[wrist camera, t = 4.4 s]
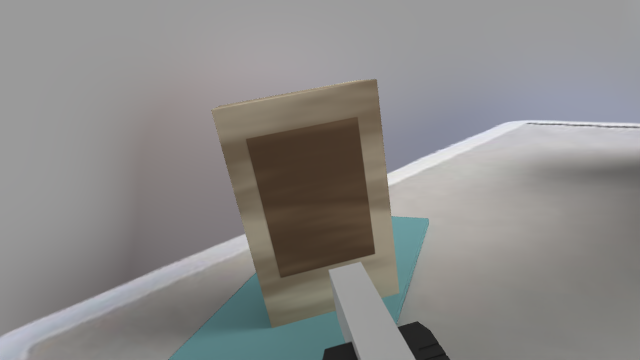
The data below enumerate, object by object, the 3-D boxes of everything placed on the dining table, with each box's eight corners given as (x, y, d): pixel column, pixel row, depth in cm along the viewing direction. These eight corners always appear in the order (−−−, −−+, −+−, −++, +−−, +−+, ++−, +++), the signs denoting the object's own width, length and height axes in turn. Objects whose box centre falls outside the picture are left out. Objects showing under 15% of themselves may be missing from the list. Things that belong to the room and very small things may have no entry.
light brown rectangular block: (270, 293, 27) (220, 105, 22) (380, 265, 28) (357, 80, 23) (271, 328, 23) (211, 110, 18) (399, 293, 24) (376, 79, 19)
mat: (318, 216, 41) (317, 212, 41) (428, 223, 34) (428, 218, 34) (134, 402, 20) (131, 396, 19) (334, 516, 13) (332, 508, 13)
